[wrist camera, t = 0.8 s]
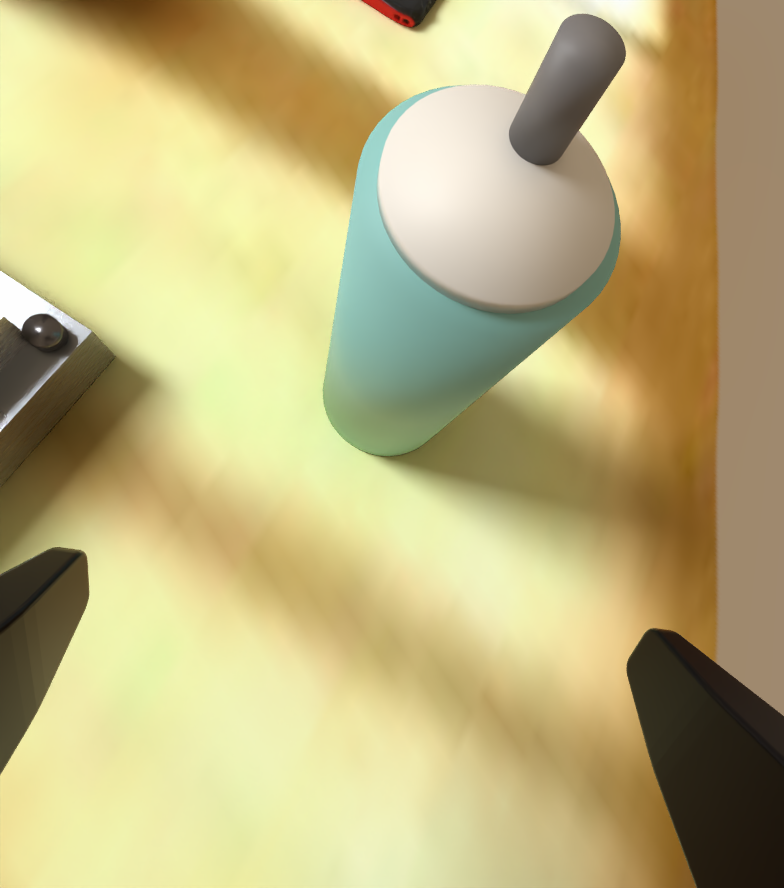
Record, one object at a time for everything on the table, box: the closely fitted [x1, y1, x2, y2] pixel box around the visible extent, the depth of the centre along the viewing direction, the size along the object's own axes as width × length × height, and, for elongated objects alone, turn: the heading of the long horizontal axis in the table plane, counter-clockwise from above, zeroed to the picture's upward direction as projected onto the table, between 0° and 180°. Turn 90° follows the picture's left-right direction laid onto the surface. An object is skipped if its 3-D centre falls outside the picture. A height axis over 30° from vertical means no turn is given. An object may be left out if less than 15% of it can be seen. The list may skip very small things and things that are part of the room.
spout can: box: [323, 14, 626, 456], centre depth 15 cm, size 6×6×15 cm
